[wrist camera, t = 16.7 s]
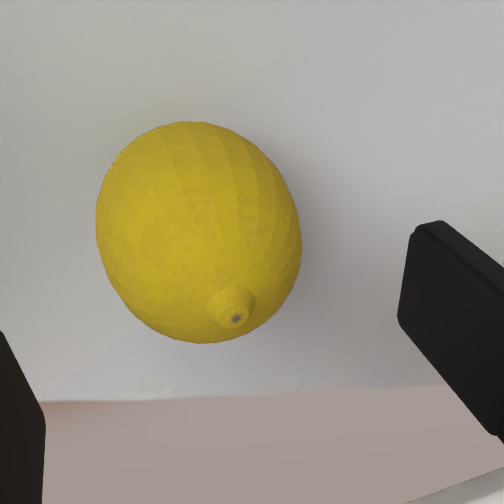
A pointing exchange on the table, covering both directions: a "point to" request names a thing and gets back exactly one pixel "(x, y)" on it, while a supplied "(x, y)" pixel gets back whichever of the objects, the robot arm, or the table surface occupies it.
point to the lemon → (198, 232)
